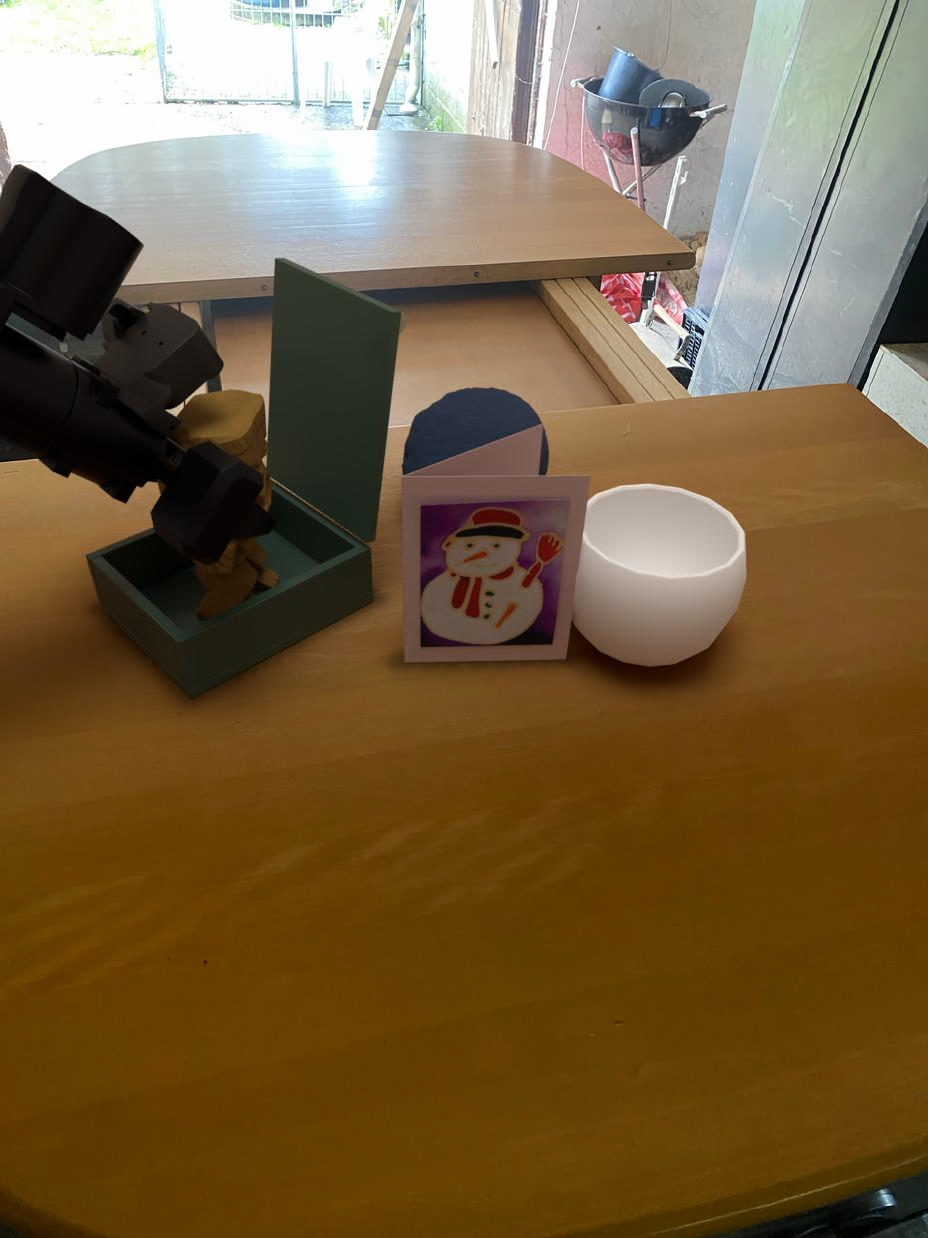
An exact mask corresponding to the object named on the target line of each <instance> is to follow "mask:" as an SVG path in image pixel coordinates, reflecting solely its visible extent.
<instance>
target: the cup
mask: <svg viewBox="0 0 928 1238" xmlns="http://www.w3.org/2000/svg"><path fill="white" fill-rule="evenodd" d="M746 546H747V545H746V532H745V531H744V529H743V528H742V526H741V525H740V523H739V522H738V521H737V519H736V518H735V516H734V515H733V513H732V512H730V511H729V510H727V509H726V508H725V507H723V506H721V505H720V504H719V503H717V502H716V501H714V500H713V499H711V498H710V497H707V496H704V495H702V494H698V493H696V492H692V491H690V490H687V489H684V488H681V487H677V486H669V485H662V484H655V483H639V484H626V485H619V486H615V487H612V488H609V489H606V490H603V491H601V492H597V493H595V494H593V496H592V497H591V498H590V499H588V502H587V509H586V516H585V524H584V531H583V538H582V546H581V553H580V560H579V568H578V572H577V575H576V583H575V590H574V598H573V612H572V619H571V621H572V622H573V626H575V628H576V629H577V631H578V632H580V634H581V635H582V636H583V637H584V638H585V639H586V640H587V641H588V642H589V643H590V644H591V645H592V646H593V647H594V648H596V649H597V650H598V651H599V652H600V653H603V654H604V655H607V656H609V657H611V658H613V659H616V660H618V661H620V662H622V663H626V664H632V665H638V666H644V667H658V666H659V667H660V666H669V665H675V664H677V663H680V662H682V661H684V660H687V659H689V658H691V657H693V656H695V655H697V654H699V653H701V652H702V651H705V650H707V649H710V647H711V645H712V644H713V642H714V641H715V640H716V639H717V638H718V636H719V635H720V634H721V633H722V631H723V630H724V628H725V627H726V626H727V624H728V623H729V621H730V620H731V618H732V617H733V616H734V614H735V613H736V612H737V610H738V609H739V606H740V603H741V599H742V595H743V592H744V589H745V585H746V581H747V547H746Z"/></svg>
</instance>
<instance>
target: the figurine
mask: <svg viewBox="0 0 928 1238" xmlns="http://www.w3.org/2000/svg"><path fill="white" fill-rule="evenodd" d="M266 413H267V412H266V402H265V399H264V396H263V395H262V394H261V393H254V392H251V391H246V390H242V389H234V388H233V389H226V390H219V391H218V390H217V391H212V392H205V393H198V394H195V395H193V396H192V397H191V398H190V399H189V400H188V401H187V403H186V404H185V405H184V406H183V407H182V408H181V410H179V412H178V414H177V415H175V416H176V417H177V418H179V419H180V420H182V421H181V423H180V425H179V426H178V428H177V430H176V431H175V433H174V435H173V436H172V437H171V438H170V439H171V440H172V441H174V442H175V443H176V444H178V445H179V446H181V447H182V448H183V449H185V450H186V451H187V450H188V449H189V447H192V446H195V445H197V444H200V443H203V442H206V441H208V440H209V441H211V442H213V443H215V444H217V445H218V446H220V447H222V448H223V449H225V450H227V451H228V452H230V453H232V454H233V455H235V456H236V457H238V458H239V459H241V460H242V461H244V462H245V463H247V464H248V465H250V466H251V467H253V468H254V469H255V470H257V471H258V472H260V473H261V474H263V481H264V487H263V489H262V491H261V492H260V494H259V496H258V497H257V499H256V500H255V501H256V502H257V503H258V504H259V505H260V506H261V507H262V508H264V509H265V510H266V511H267V512H268V511H269V506H270V504H271V495H272V482H271V479H272V478H271V477H270V475H269V471H268V469H267V468H266V464H265V463H264V462H263V459H264V458H265V457H267V453H268V448H267V439H266V438H267V437H268V430H267V415H266ZM164 459H165V460H166V461H168V462H169V463H170V464H172V465H173V466H174V467H176V468H177V467H178V465H176V464H175V463H173V461H171V460H169V458H167V457H166V456H164ZM156 484H157V486H158V491H159V494H160V495H161V494H162V492H163V490H164V489H165V487H166V485H164V484H163V483H162V482H161V481H159V480H158V479H157V483H156ZM256 538H257V537H250V538H244V539H238V540H233V541H230V543H229V545H228V546H227V548H226V550H225V551H224V553H223V555H222V556H221V558H220V559H219V561H218V562H216V563H214V564H211V565H208V566H207V565H205V564H202V563H200V562H197V561H195V560H193V559H192V560H193V561H194V563H195V564H196V565H197V566H198V568H197V571H196V573H195V575H196V576H197V577H198V579H199V580H200V581H201V582H202V583H203V584H204V585H205V586H206V587H207V589H208V590H209V591H208V593H207V594H206V595H205V597H204V598H203V600H202V601H201V603H200V606H199V608H198V610H197V612H196V614H197V616H198V618H199V619H210V618H212V617H214V616H216V615H218V614H220V613H222V612H224V611H226V610H228V609H230V608H232V607H234V606H236V605H238V604H240V603H242V602H245V601H247V600H249V599H251V598H253V597H255V596H256V595H255V594H253V593H252V592H251V590H262V591H267V590H269V589H271V588H273V587H275V586H277V585H278V584H279V574H277V573H276V572H274V571H272V570H270V569H268V568H266V567H264V566H263V562H264V560H265V558H266V556H267V553H268V552H267V551H266V550H265V549H264V548H262V547H261V546H260V545H259V544H257V543H256V542H255V540H256Z"/></svg>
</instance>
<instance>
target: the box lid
mask: <svg viewBox="0 0 928 1238" xmlns="http://www.w3.org/2000/svg"><path fill="white" fill-rule="evenodd" d="M273 269H274V270H273V293H272V317H271V318H272V319H271V320H272V321H271V342H270V369H269V389H268V391H269V393H268V415H267V416H268V417H267V419H268V420H267V436H266V438H267V439H266V441H267V448H268V453H267V455H266V464H265V467H266V468H267V469H268V471H269V475H270V479H272V480H273V481H274V482H276V483H278V484H279V485H281V486H282V487H283V488H285V489H286V490H288V491H289V492H291V493H292V494H294V495H295V496H297V497H298V498H300V499H301V500H302V501H304V502H305V503H307V504H308V505H310V506H311V507H313V508H314V509H316V510H317V511H318V512H320V513H321V514H323V515H324V516H326V517H327V518H329V519H330V520H332V521H333V522H334V523H336V524H337V525H339V526H340V527H342V528H343V529H345V530H346V531H348V532H349V533H351V534H352V535H353V536H355V537H356V538H358V539H359V540H361V541H362V542H364V543H365V544H369V543H372V542H374V541H376V538H377V537H376V536H377V529H378V527H377V526H378V519H379V512H380V511H379V510H380V501H381V494H382V484H383V476H384V467H385V459H386V451H387V441H388V434H389V433H388V432H389V424H390V416H391V407H392V399H393V390H394V381H395V374H396V373H395V371H396V363H397V355H398V347H399V339H400V334H402V332H403V331H404V330H405V328H406V326H407V317H406V314H405V313H404V312H403V311H402V310H400V309H398V308H396V307H393V306H392V305H389V304H387V303H385V302H382V301H380V300H378V299H375V298H373V297H372V296H369V295H367V294H364V293H363V292H360V291H358V290H356V289H353V288H352V287H349V286H347V285H345V284H343V283H340V282H338V281H336V280H334V279H331V278H329V277H327V276H325V275H323V274H321V273H318V272H316V271H314V270H312V269H310V268H307V267H305V266H303V265H301V264H298V263H297V262H294V261H293V260H290V259H287V258H285V257H275V258H274V268H273Z"/></svg>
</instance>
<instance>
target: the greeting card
mask: <svg viewBox="0 0 928 1238" xmlns="http://www.w3.org/2000/svg"><path fill="white" fill-rule="evenodd" d="M543 426H544V423H542V424H540V425H538V426H535V427H532V428H530V429H527V430H524V431H522V432H519V433H516V434H514V435H511V436H508V437H506V438H503V439H500V440H498V441H495V442H492V443H490V444H487V445H484V446H482V447H479V448H476V449H474V450H471V451H468V452H466V453H463V454H460V455H458V456H455V457H452V458H450V459H447V460H444V461H441V462H439V463H436V464H433V465H431V466H428V467H425V468H423V469H420V470H417V471H415V472H412V473H409V474H407V475H404V476H403V475H402V476H400V478H401V479H400V480H401V482H400V483H401V484H400V485H401V486H400V487H401V534H402V535H401V540H402V541H401V545H402V547H401V548H402V549H401V551H402V601H403V602H402V607H403V608H402V609H403V610H402V611H403V614H402V615H403V660H404V661H403V663H405V664H406V663H407V664H408V663H409V664H410V663H449V662H450V663H453V662H455V663H457V662H497V661H498V662H499V661H546V660H550V661H551V660H567V655H568V648H569V642H570V641H569V640H570V633H571V625H572V612H573V598H574V590H575V583H576V575H577V572H578V568H579V560H580V553H581V546H582V538H583V531H584V524H585V516H586V509H587V502H588V500H589V493H590V486H591V480H592V475H591V474H582V475H581V474H579V475H578V474H575V475H573V474H571V475H570V474H569V475H567V474H565V475H561V474H560V475H559V474H558V475H556V474H554V475H551V474H550V475H546V476H538V475H539V464H540V454H541V443H542V433H543Z"/></svg>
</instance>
